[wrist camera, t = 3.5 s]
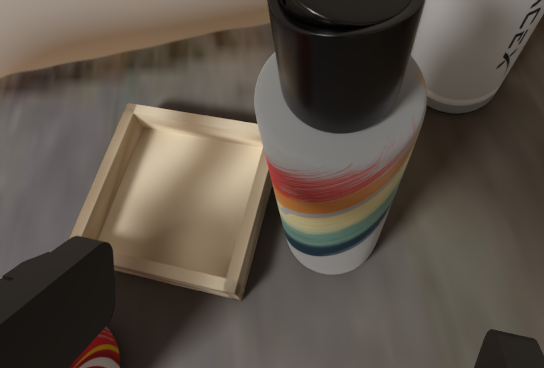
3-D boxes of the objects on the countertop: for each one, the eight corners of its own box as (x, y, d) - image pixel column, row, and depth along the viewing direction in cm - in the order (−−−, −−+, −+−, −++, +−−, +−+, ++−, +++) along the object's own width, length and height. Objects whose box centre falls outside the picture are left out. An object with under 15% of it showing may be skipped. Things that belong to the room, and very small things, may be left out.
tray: (282, 146, 31) (279, 127, 29) (241, 300, 27) (234, 293, 25) (140, 122, 33) (127, 103, 31) (83, 263, 29) (63, 252, 27)
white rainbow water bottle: (282, 194, 30) (220, -105, 11) (369, 186, 29) (447, -137, 11) (289, 280, 27) (223, 77, 9) (383, 272, 27) (511, 44, 9)
